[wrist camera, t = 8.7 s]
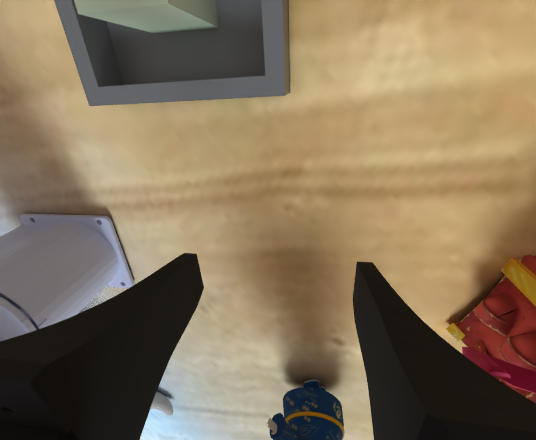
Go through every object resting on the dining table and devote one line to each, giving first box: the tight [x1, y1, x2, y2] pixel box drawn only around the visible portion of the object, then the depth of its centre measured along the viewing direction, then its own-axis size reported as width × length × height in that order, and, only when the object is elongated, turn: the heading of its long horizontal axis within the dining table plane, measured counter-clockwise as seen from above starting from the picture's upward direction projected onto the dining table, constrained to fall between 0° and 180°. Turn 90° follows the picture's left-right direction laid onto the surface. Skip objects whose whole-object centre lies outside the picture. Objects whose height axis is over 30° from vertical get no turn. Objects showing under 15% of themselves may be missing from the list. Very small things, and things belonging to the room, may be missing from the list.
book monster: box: [446, 255, 536, 403], centre depth 17 cm, size 11×9×12 cm
